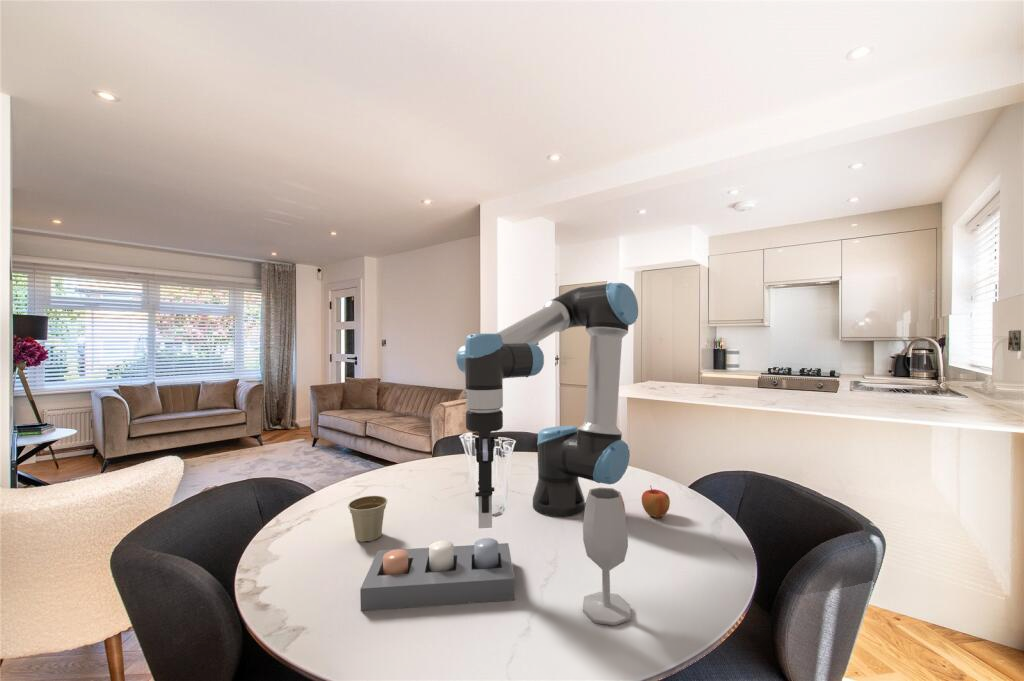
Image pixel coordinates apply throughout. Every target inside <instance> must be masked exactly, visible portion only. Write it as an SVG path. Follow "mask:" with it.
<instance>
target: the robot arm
mask: <svg viewBox="0 0 1024 681" xmlns="http://www.w3.org/2000/svg"><path fill="white" fill-rule="evenodd" d="M638 316H639V304H638V300H637V297H636V295H635V293H634V291H633V288H631V287H630V286H629V285H628V284H626V283H623V282H615V283H614V282H609V283H604V284H603V283H602V284H599V285H597V284H596V285H589V286H579V287H577V288H574V289H571V290H568V291H566V292H565V293H563V294H560V295H558V296H556V297H555V298H553V299H551V300H549V301H547V302H546V303H545V304H544V305H543V307H542V308H541V309H540V310H538V311H535V312H534V313H531V314H530V315H528V316H526V317H525V318H523V319H521V320H519V321H517V322H515V323H514V324H511V325H509V326H508V327H505V328H504V329H502V330H501V331H499V332H496V333H471V334H468V335H467V336H466V339H465V342H464V343H465V344H464V345H462V346H461V347H460V348H459V349H458V350H457V353H456V357H455V358H456V359H455V360H456V365H457V368H458V369H459V370H460V371H461V372H462V373H464V375H465V378H464V379H465V393H462V398H463V399H465V408H466V409H468V410H466V412H465V428H466V430H468V431H470V432H477V433H478V436H475V437H474V449H475V450H476V451H475V456H476V457H475V460H476V463H478V481H477V484H478V487H477V488H478V489H477V492H475V495H474V496H475V498H477V502H478V505H477V506H478V508H477V509H478V510H477V512H478V516H477V518H478V519H477V520H478V529H490V528H491V529H492V528H493V497H492V496H493V492H495V486H492V484H493V476H492V475H493V472H492V471H493V465H492V463H493V462H494V449H495V445H496V443H495V442H496V441H495V436H491V432H497V431H500V430H502V428H503V427H504V419H503V418H504V417H503V416H504V414H503V411H502V410H501V409H503V406H504V388H503V387H504V386H503V380H504V379H513V378H514V379H515V378H529V377H534V376H536V375H538V374H540V373H541V371H542V370H543V368H544V365H545V355H544V352H543V350H542V348H541V347H540V346H539V345H537V344H538V343H539V342H541V341H543V340H544V339H546V338H547V337H549V336H551V335H553V334H554V333H556V332H557V333H559V332H560V333H562V332H564V331H566V330H567V329H571V328H578V327H579V328H580V327H585V331H586V332H587V334H588V335H589V336H590V341H589V354H588V368H587V383H586V393H585V394H586V398H585V412H584V421H583V423H582V424H581V425H580V426H579V427H577V426H575V425H561V426H560V425H558V426H551V427H546V428H543V429H541V430H540V431H539V432H538V434H537V443H536V446H537V474H538V476H537V477H538V478H537V482H536V486H535V488H534V489H535V490H534V494H533V495H532V508H533V509H534V511H536V512H537V513H539V514H542V515H545V516H549V517H572V516H575V515H578V514H581V513H582V512H584V511H585V506H586V502H585V496H584V494H583V490H582V487H581V485H580V482H579V478H581V479H585V480H588V481H592V482H595V483H597V484H605V485H614V484H616V483H617V482H619V481H620V480H621V479H622V478H623V477H624V475H625V473H626V471H627V470H628V466H629V462H630V456H631V454H630V453H631V452H630V449H629V445H628V443H627V442H626V441H625V440H623V439H622V436H623V434H622V431H621V430H620V429H619V427H618V425H617V422H618V411H619V410H618V406H619V393H620V392H619V391H620V390H619V389H620V375H621V364H622V363H621V362H622V361H621V360H622V359H621V358H622V347H623V345H622V342H623V339H624V337H625V336H626V335H627V334H629V326H632V325H633V324H635V323H636V322H637V319H638Z"/></svg>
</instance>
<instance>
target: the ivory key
mask: <svg viewBox="0 0 1024 681" xmlns="http://www.w3.org/2000/svg"><path fill="white" fill-rule="evenodd" d="M453 546H454V543H453V542H452V541H449V540H438V541H434V542H432V543H431V544H430V545H429V547H428V548H429V568H430V570H431V571H433V572H444V571H449V570H451V569H452V568H453V566H454V553H453Z"/></svg>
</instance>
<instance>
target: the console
mask: <svg viewBox="0 0 1024 681" xmlns="http://www.w3.org/2000/svg"><path fill="white" fill-rule="evenodd" d="M400 549H401V548H400ZM392 550H393V549H383V550H381V549H379V550H377V552H376V554H375V557H374V558H373V560H372V562H371V565H370V568H369V569H368V571H367V574H366V576H365V578H364V580H363V582H362V584H361V586H360V611H363V612H364V611H378V610H390V609H392V610H393V609H405V608H407V609H408V608H420V607H433V606H434V607H435V606H446V605H447V606H448V605H449V606H450V605H463V604H464V605H465V604H477V603H490V602H491V603H493V602H492V601H494V602H504V601H505V602H506V601H515V596H516V595H515V575H514V568H513V564H512V558H511V557H512V556H511V553H510V545H509V543H508V542H507V543H506V542H504V543H498V565H497V566H496V567H495V568H492V569H479V568H477V567H476V566H475V555H474V544H470V545H469V544H467V545H453V553H454V566H453V568H452V569H451V570H449V571H444V572H433V571H431V570H430V568H429V547H420V548H419V547H417V548H415V547H414V548H403V549H401V550H405V551H407V552H408V574H396V575H383V556H384V554H386V553H387V552H389V551H392Z"/></svg>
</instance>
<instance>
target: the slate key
mask: <svg viewBox="0 0 1024 681" xmlns="http://www.w3.org/2000/svg"><path fill="white" fill-rule="evenodd" d="M498 544H499V542H498V540H496V539H495V538H491V537H483V538H479V539H477V540H476V541H475V542H474V544H473V545H474V555H475V566H476V567H477V568H479V569H492V568H495V567H496V566H497V565H498Z"/></svg>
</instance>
